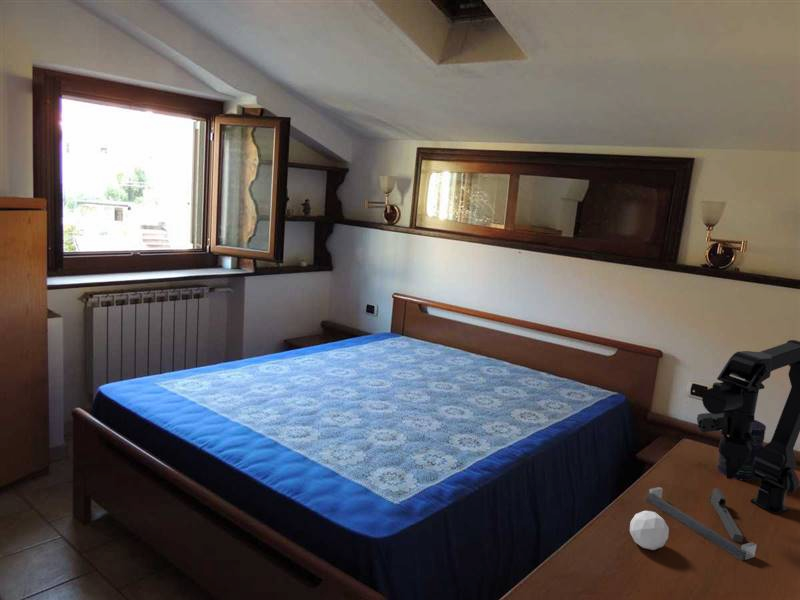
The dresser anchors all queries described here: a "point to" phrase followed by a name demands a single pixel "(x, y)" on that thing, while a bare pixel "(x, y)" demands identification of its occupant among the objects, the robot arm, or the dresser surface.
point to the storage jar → (755, 443)
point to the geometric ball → (649, 530)
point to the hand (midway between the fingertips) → (729, 470)
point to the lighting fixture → (725, 515)
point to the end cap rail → (700, 527)
